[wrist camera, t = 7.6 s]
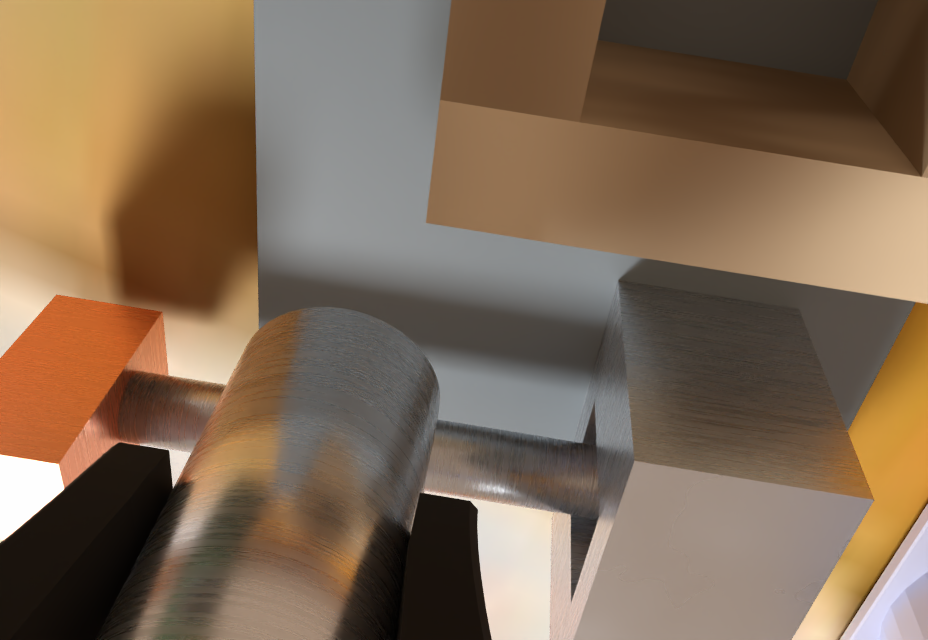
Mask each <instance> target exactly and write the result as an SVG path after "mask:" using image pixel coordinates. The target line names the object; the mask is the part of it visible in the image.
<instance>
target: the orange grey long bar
mask: <svg viewBox="0 0 928 640" xmlns="http://www.w3.org/2000/svg"><path fill="white" fill-rule="evenodd" d="M225 387H226V385H223V384H217V383H211V382H205V381H198V380H192V379H186V378H180V377H174V376H169V375H168V364H167V354H166V344H165V333H164V323H163V312H160V311H154V310H148V309H142V308H135V307H129V306H123V305H117V304H111V303H105V302H98V301H92V300H86V299H80V298H74V297H68V296H61V295H56V296H55V297H54V298H53V299H52V301H51V302H50V303H49V304H48V305H47V306H46V307H45V308H44V310H43V311H42V312H41V313H40V314H39V315H38V316H37V317H36V319H35V320H34V321H33V322H32V323H31V324H30V325H29V327H28V328H27V329H26V330H25V331H24V332H23V333H22V334H21V336H20V337H19V338H18V339H17V340H16V341H15V342H14V343H13V345H12V346H11V347H10V348H9V349H8V350H7V351H6V352H5V354H4V355H3V356H2V357H1V358H0V539H1V540H4V539H6V538H7V537H8V536H9V535H11V534H12V533H13V532H14V531H15V530H17V529H18V528H19V527H20V526H21V525H23V524H24V523H25V522H26V521H27V520H28V519H30V518H31V517H32V516H33V515H34V514H35V513H37V512H38V511H39V510H40V509H41V508H42V507H44V506H45V505H46V504H47V503H48V502H49V501H51V500H52V499H53V498H54V497H55V496H56V495H57V494H59V493H60V492H61V491H62V490H63V489H64V488H65V487H67V486H68V485H69V484H70V483H71V482H72V481H73V480H75V479H76V478H77V477H78V476H79V475H80V474H81V473H83V472H84V471H85V470H86V469H87V468H88V467H89V466H91V465H92V464H93V463H94V462H95V461H96V460H97V459H98V458H100V457H101V456H102V455H103V454H104V453H105V452H107V451H108V450H109V449H110V448H111V447H113V446H114V445H116V444H117V443H119V442H122V443H128V444H134V445H140V444H141V445H147V446H153V447H159V448H165V449H172V450H178V451H184V452H190V453H192V451H193V449H194V447H195V445H196V443H197V441H198V439H199V438H200V436H201V434H202V432H203V430H204V428H205V426H206V424H207V422H208V420H209V418H210V416H211V414H212V412H213V410H214V408H215V406H216V404H217V403H218V401H219V399H220V397H221V395H222V393H223V391H224V389H225ZM424 491H429V492H435V493H441V494H447V495H453V496H460V497H466V498H472V499H478V500H484V501H490V502H496V503H502V504H509V505H515V506H521V507H527V508H533V509H539V510H545V511H551V512H558V513H564V514H570V515H576V516H582V517H588V518H594V519H599V493H598V468H597V445H592V444H586V443H580V442H574V441H567V440H561V439H555V438H549V437H543V436H537V435H530V434H524V433H518V432H512V431H506V430H500V429H494V428H487V427H481V426H475V425H469V424H463V423H457V422H451V421H444V420H438V419H437V424H436V430H435V435H434V440H433V446H432V451H431V456H430V461H429V467H428V472H427V477H426V483H425V488H424Z"/></svg>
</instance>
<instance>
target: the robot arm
mask: <svg viewBox="0 0 928 640" xmlns="http://www.w3.org/2000/svg"><path fill="white" fill-rule="evenodd" d="M172 490H173V486H172V476H171V466H170V456H169V450H164V449H158V448H152V447H146V446H140V445H134V444H128V443H122V442H119V443H117V444H116V445H114V446H113V447H111V448H110V449H109V450H108V451H107V452H105V453H104V454H103V455H102V456H101V457H100V458H98V459H97V460H96V461H95V462H94V463H93V464H92V465H91V466H89V467H88V468H87V469H86V470H85V471H84V472H83V473H81V474H80V475H79V476H78V477H77V478H76V479H75V480H73V481H72V482H71V483H70V484H69V485H68V486H67V487H65V488H64V489H63V490H62V491H61V492H60V493H59V494H57V495H56V496H55V497H54V498H53V499H52V500H51V501H49V502H48V503H47V504H46V505H45V506H44V507H42V508H41V509H40V510H39V511H38V512H37V513H35V514H34V515H33V516H32V517H31V518H30V519H28V520H27V521H26V522H25V523H24V524H23V525H21V526H20V527H19V528H18V529H17V530H15V531H14V532H13V533H12V534H11V535H9V536H8V537H7V538H6V539H4V540H3V541H2V542H1V543H0V640H96V638H97V636H98V634H99V632H100V630H101V628H102V626H103V624H104V622H105V620H106V618H107V616H108V614H109V613H110V611H111V609H112V607H113V605H114V603H115V601H116V599H117V597H118V595H119V593H120V591H121V589H122V587H123V585H124V583H125V581H126V579H127V578H128V576H129V574H130V572H131V570H132V568H133V566H134V564H135V562H136V560H137V558H138V556H139V554H140V552H141V550H142V548H143V546H144V544H145V543H146V541H147V539H148V537H149V535H150V533H151V531H152V529H153V527H154V525H155V523H156V521H157V519H158V517H159V515H160V513H161V511H162V509H163V508H164V506H165V504H166V502H167V500H168V498H169V496H170V494H171V492H172ZM477 514H478V509H477V508H476V507H475V506H474V505H473V504H472V503H471V502H470V501H466V500H460V499H454V498H448V497H443V496H437V495H431V494H425V493H420V494H419V498H418V503H417V507H416V512H415V516H414V521H413V525H412V530H411V535H410V539H409V544H408V550H407V558H406V565H405V573H404V580H403V587H402V595H401V602H400V611H399V620H398V629H397V636H396V640H492V639H491V634H490V629H489V624H488V618H487V613H486V607H485V600H484V593H483V587H482V580H481V572H480V563H479V552H478V534H477ZM840 640H928V504H927V506H926V507H925V509H924V510H923V512H922V513H921V515H920V516H919V518H918V520H917V521H916V523H915V524H914V526H913V527H912V529H911V530H910V532H909V533H908V535H907V536H906V538H905V540H904V541H903V543H902V544H901V546H900V547H899V549H898V550H897V552H896V553H895V555H894V557H893V558H892V560H891V561H890V563H889V564H888V566H887V567H886V569H885V570H884V572H883V574H882V575H881V577H880V578H879V580H878V581H877V583H876V584H875V586H874V587H873V589H872V591H871V592H870V594H869V595H868V597H867V598H866V600H865V601H864V603H863V604H862V606H861V608H860V609H859V611H858V612H857V614H856V615H855V617H854V618H853V620H852V621H851V623H850V625H849V626H848V628H847V629H846V631H845V632H844V634H843V635H842V637H841V638H840Z"/></svg>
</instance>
